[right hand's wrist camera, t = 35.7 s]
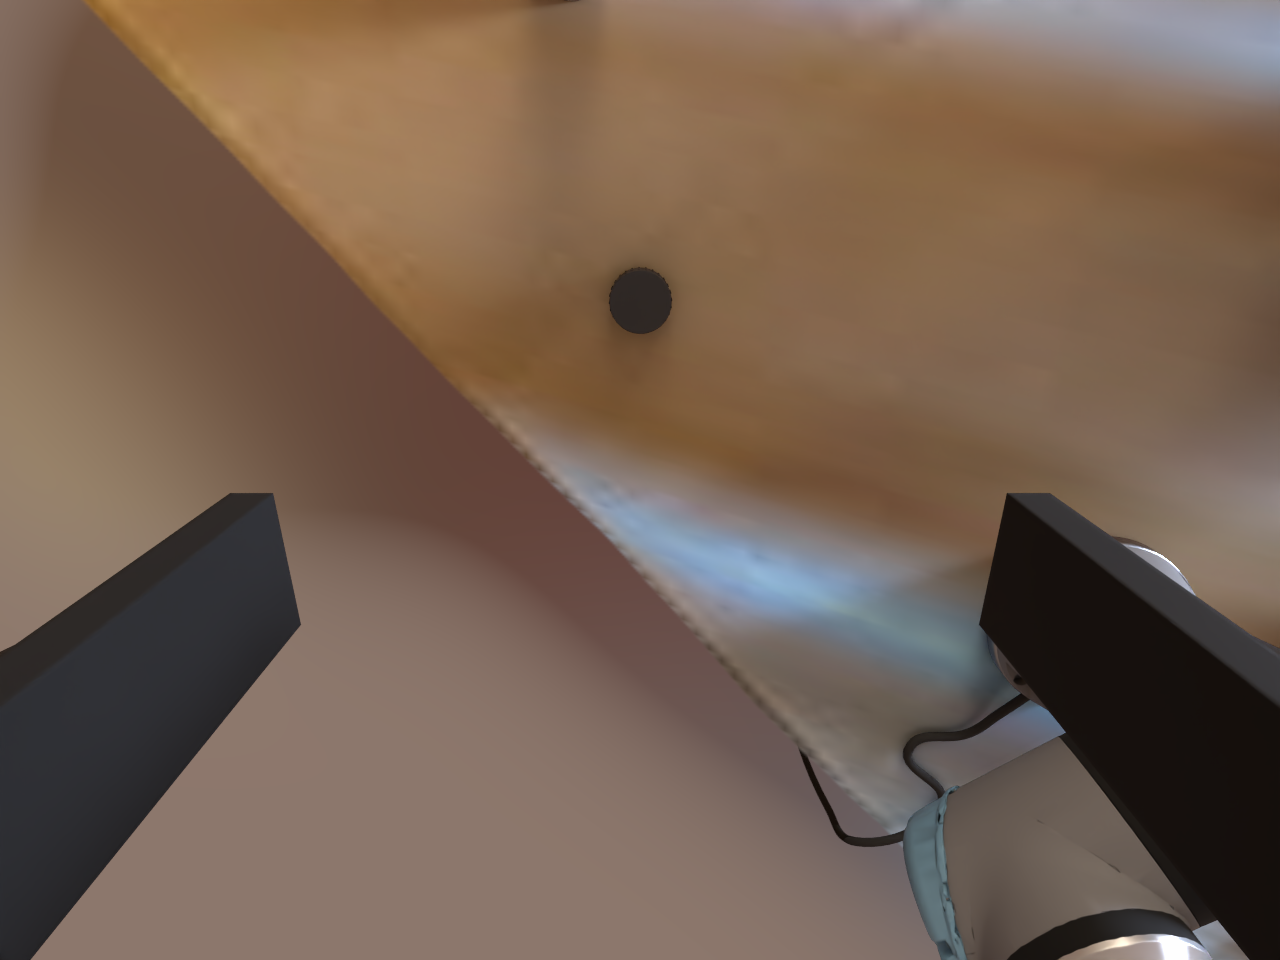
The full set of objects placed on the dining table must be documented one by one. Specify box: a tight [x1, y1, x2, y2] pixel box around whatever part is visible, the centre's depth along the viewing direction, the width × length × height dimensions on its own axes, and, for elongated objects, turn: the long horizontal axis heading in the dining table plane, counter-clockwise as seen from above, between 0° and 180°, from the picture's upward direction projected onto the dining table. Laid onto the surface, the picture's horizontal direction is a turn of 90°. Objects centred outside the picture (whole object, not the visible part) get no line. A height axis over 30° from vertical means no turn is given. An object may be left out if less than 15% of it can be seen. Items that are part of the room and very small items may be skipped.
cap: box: [609, 267, 672, 334], centre depth 47 cm, size 4×4×2 cm
